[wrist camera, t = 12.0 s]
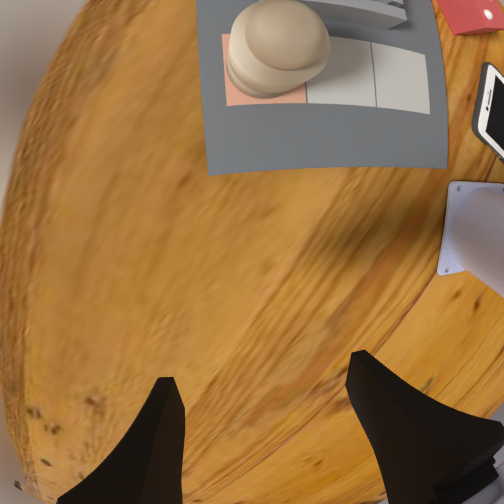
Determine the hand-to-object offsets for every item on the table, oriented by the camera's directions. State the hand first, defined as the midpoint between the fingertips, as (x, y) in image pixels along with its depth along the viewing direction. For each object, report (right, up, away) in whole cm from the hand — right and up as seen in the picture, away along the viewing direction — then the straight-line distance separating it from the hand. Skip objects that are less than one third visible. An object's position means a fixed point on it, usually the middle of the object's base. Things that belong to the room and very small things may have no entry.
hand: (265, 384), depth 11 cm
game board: (+4, +19, +3) cm, 20 cm away
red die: (+16, +25, +2) cm, 30 cm away
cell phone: (+25, +17, +7) cm, 31 cm away
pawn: (0, +15, +3) cm, 16 cm away
